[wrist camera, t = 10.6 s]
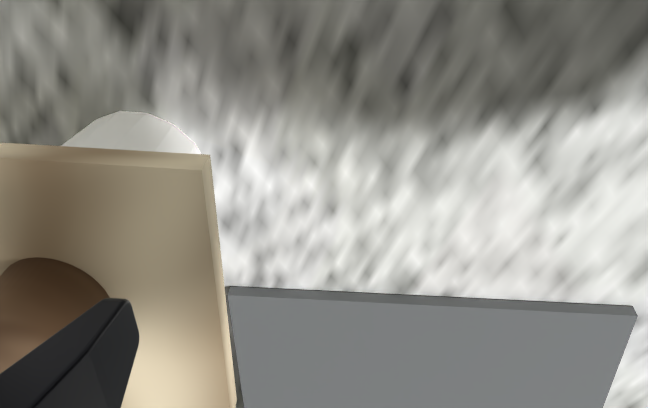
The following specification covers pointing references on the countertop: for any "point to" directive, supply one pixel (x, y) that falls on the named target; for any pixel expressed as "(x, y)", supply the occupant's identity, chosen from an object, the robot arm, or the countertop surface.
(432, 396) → the mat
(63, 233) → the lid
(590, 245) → the countertop surface
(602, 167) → the countertop surface
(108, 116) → the white round cup
